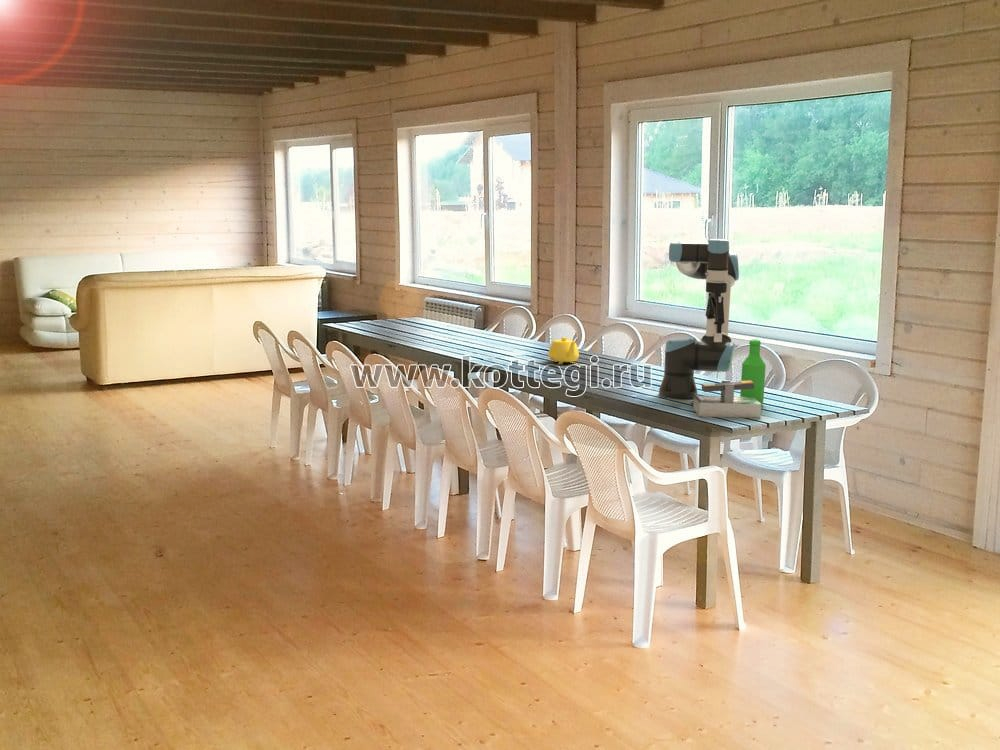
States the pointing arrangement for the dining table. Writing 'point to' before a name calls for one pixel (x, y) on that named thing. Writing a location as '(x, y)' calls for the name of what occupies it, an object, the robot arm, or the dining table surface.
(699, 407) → the grey seesaw stand
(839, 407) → the dining table surface
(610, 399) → the dining table surface
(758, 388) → the bottle
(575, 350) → the teapot
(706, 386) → the rocker
